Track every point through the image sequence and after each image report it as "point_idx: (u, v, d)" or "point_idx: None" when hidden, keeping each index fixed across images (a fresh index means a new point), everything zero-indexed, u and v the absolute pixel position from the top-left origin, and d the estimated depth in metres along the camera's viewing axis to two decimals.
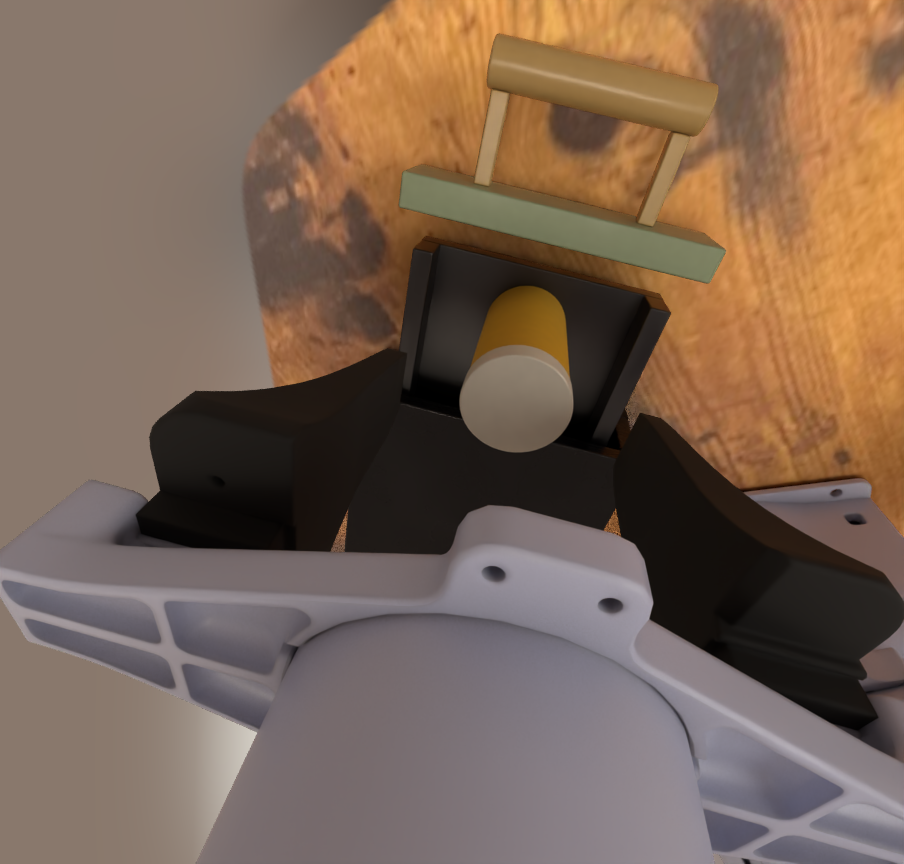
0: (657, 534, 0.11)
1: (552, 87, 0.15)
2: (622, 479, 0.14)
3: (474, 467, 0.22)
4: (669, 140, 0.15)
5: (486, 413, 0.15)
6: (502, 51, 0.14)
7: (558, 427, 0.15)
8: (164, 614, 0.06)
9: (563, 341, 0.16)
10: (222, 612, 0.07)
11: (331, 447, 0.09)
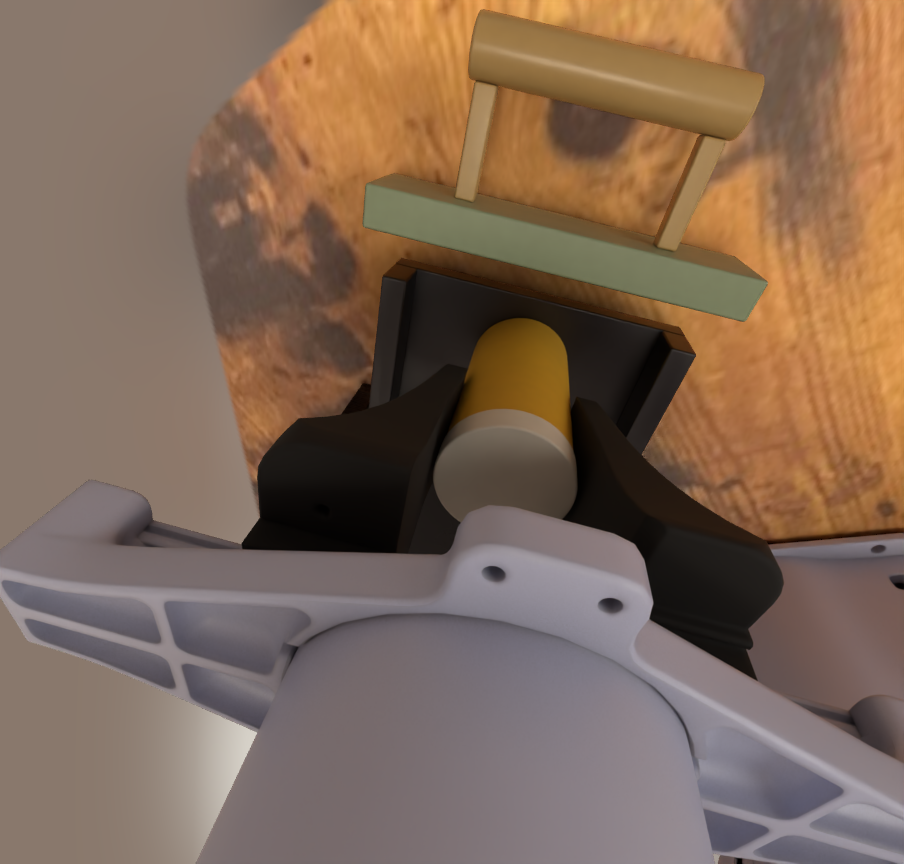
0: (578, 513, 0.11)
1: (551, 78, 0.12)
2: None
3: None
4: (698, 145, 0.12)
5: (467, 492, 0.12)
6: (486, 32, 0.11)
7: (558, 511, 0.11)
8: (164, 614, 0.06)
9: (565, 394, 0.13)
10: (221, 613, 0.07)
11: (421, 471, 0.09)
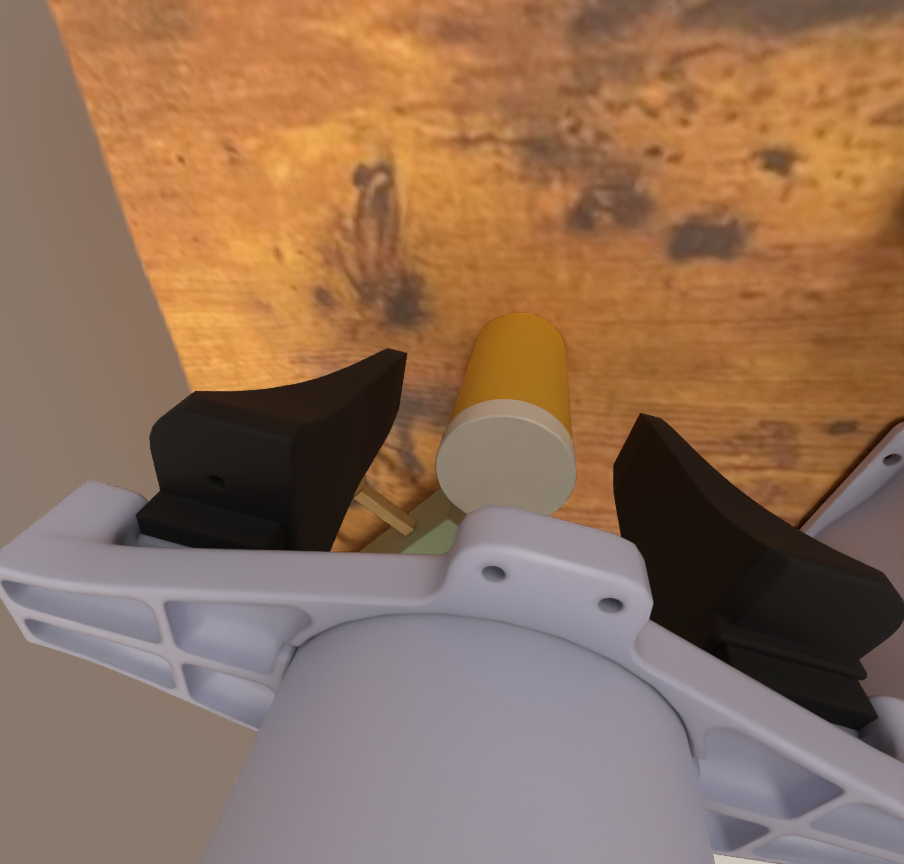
0: (657, 534, 0.11)
1: None
2: (622, 479, 0.14)
3: None
4: (358, 500, 0.19)
5: (468, 481, 0.12)
6: None
7: (557, 499, 0.12)
8: (164, 614, 0.06)
9: (563, 386, 0.13)
10: (222, 612, 0.07)
11: (331, 447, 0.09)
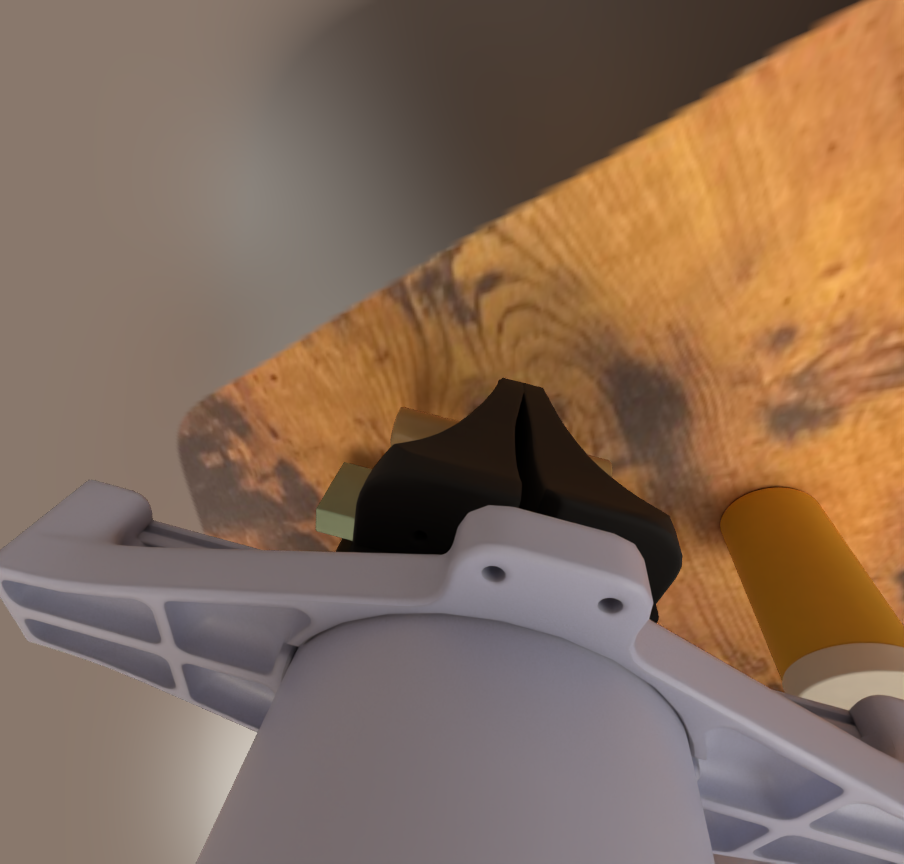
0: None
1: None
2: None
3: None
4: None
5: (851, 693, 0.12)
6: (401, 435, 0.15)
7: None
8: (164, 614, 0.06)
9: None
10: (221, 612, 0.07)
11: None
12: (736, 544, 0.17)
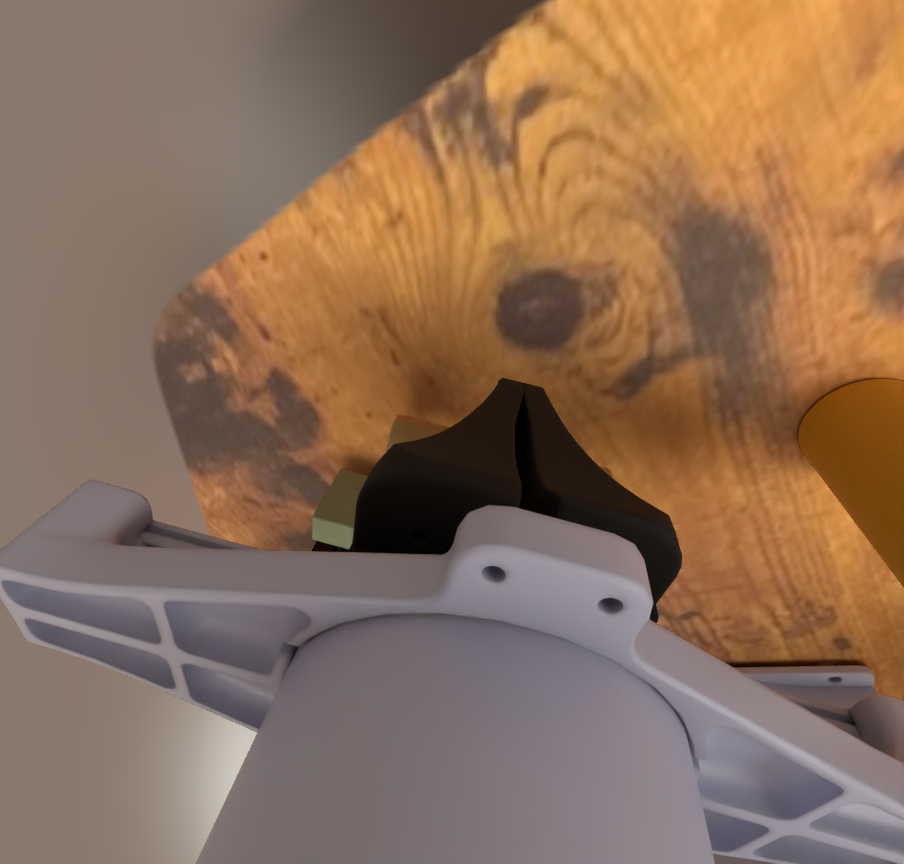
0: None
1: None
2: None
3: None
4: None
5: None
6: None
7: None
8: (164, 614, 0.06)
9: None
10: (221, 612, 0.07)
11: None
12: (826, 446, 0.14)
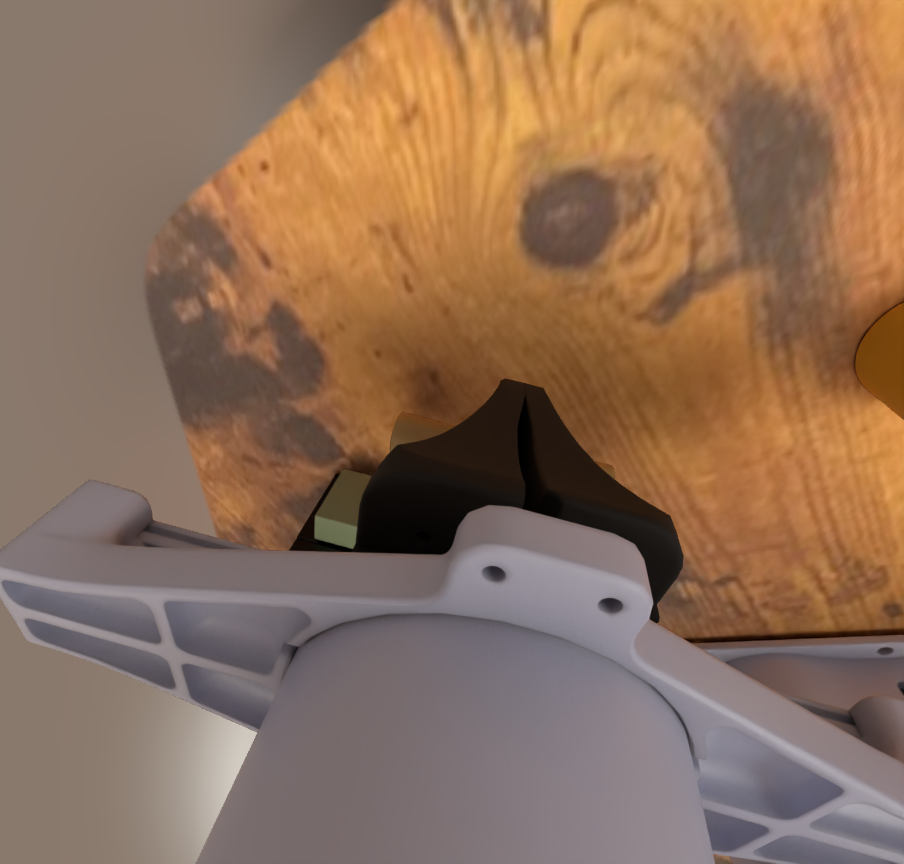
0: None
1: None
2: None
3: None
4: None
5: None
6: (401, 440, 0.14)
7: None
8: (164, 614, 0.06)
9: None
10: (221, 612, 0.07)
11: None
12: (895, 362, 0.12)
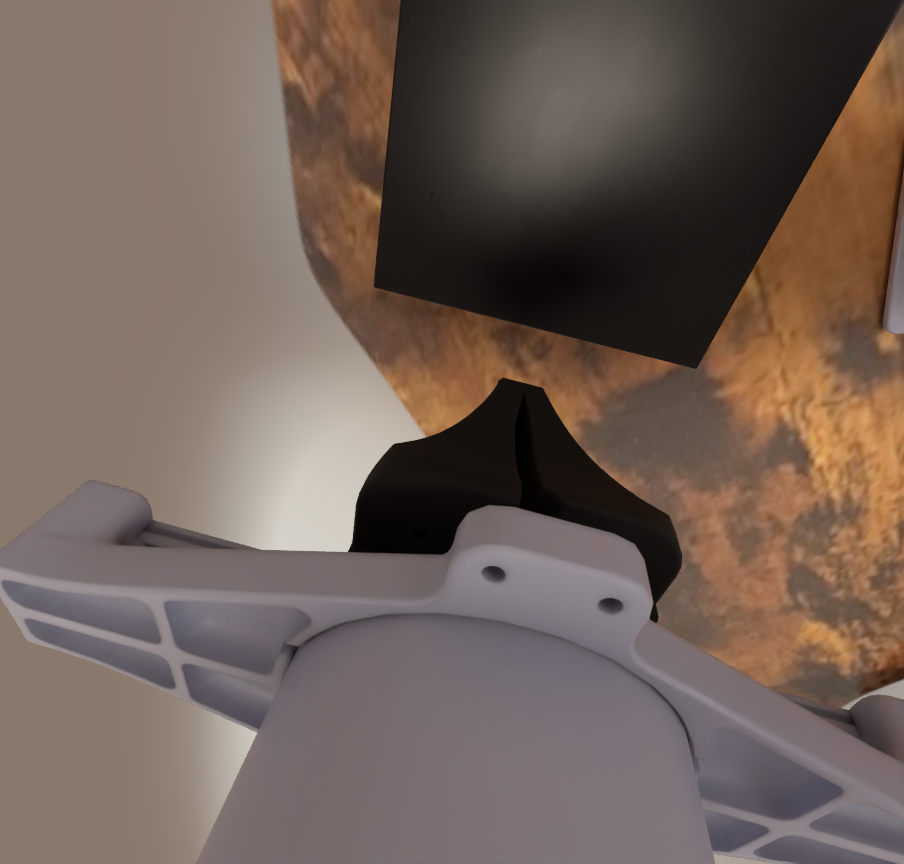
0: None
1: None
2: None
3: None
4: None
5: None
6: None
7: None
8: (164, 614, 0.06)
9: None
10: (221, 612, 0.07)
11: None
12: None
